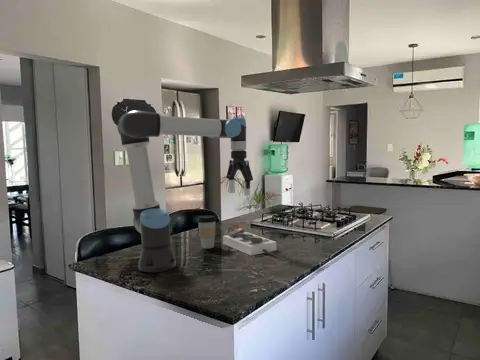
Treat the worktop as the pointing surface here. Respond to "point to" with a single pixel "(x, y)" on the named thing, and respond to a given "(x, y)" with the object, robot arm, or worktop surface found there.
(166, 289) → the worktop surface
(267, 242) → the power strip
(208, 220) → the coffee cup
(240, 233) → the rocker
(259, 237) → the rocker
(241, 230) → the rocker
